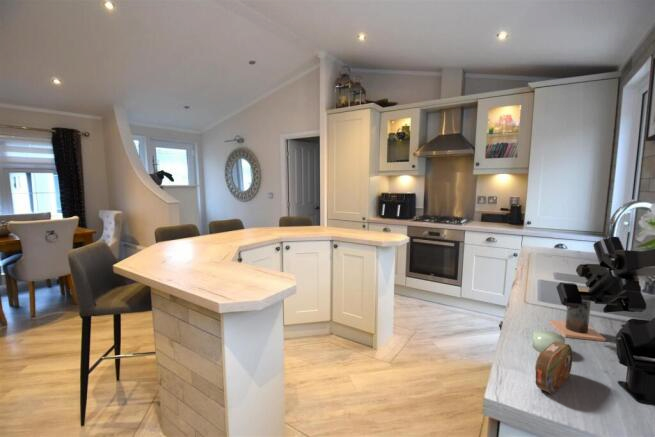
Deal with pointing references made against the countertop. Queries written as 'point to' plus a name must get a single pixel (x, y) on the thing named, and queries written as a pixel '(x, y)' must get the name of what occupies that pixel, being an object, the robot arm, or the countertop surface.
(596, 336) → the plate
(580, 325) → the canister
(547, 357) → the tin
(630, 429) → the countertop surface
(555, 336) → the pale green rounded piece
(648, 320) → the robot arm
